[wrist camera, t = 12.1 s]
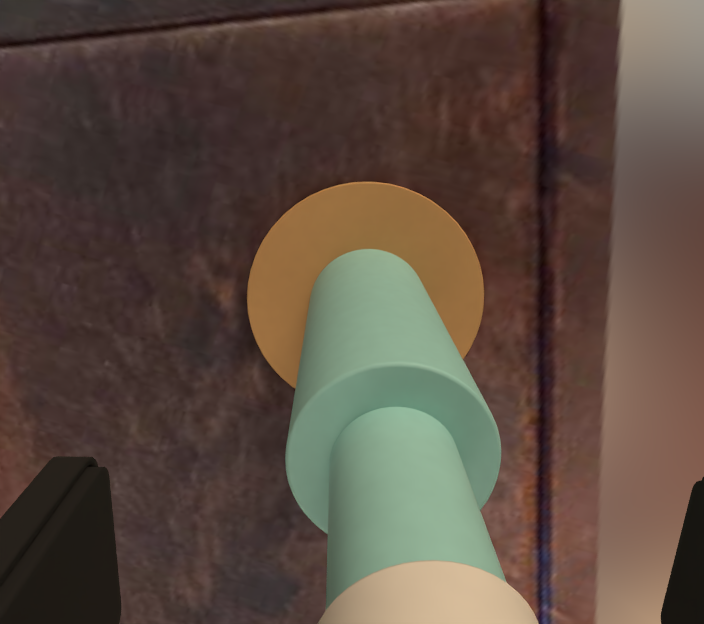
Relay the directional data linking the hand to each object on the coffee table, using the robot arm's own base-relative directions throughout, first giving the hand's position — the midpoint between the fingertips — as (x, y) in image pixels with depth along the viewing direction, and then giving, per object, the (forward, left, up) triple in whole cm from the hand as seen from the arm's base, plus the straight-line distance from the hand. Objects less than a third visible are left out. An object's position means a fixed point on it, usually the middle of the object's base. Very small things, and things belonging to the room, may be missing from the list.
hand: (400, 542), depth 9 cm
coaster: (0, 0, -14) cm, 14 cm away
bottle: (0, 0, -14) cm, 14 cm away
